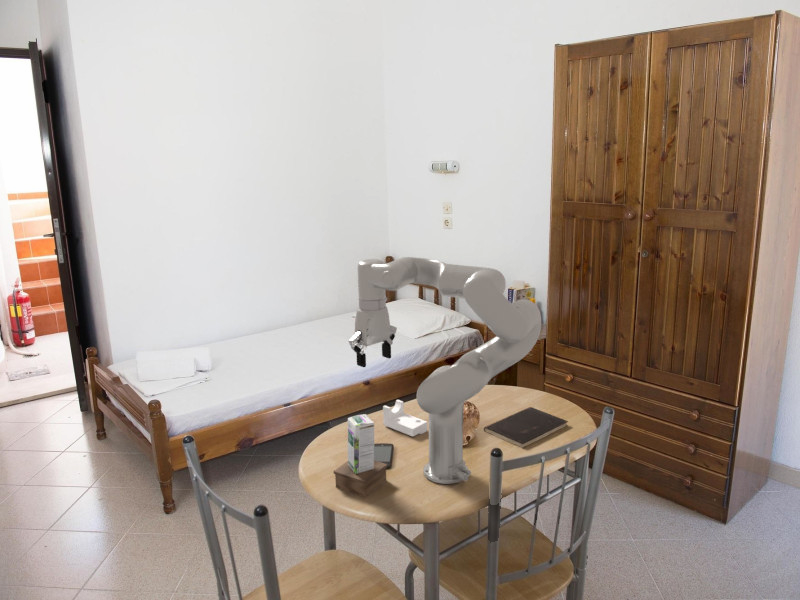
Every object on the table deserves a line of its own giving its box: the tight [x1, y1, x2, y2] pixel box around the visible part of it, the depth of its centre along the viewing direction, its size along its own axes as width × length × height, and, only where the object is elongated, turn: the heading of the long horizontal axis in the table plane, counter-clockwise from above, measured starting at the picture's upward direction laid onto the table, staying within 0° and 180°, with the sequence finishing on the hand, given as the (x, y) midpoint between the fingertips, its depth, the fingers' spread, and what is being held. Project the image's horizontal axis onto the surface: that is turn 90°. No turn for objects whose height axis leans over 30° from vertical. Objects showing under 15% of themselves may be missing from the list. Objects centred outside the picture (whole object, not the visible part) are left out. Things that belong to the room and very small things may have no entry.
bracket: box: [382, 399, 428, 437], centre depth 206 cm, size 13×7×8 cm, turn 47°
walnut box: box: [333, 459, 388, 498], centre depth 174 cm, size 11×11×5 cm
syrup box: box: [347, 413, 375, 474], centre depth 172 cm, size 6×6×14 cm
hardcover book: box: [483, 406, 569, 449], centre depth 205 cm, size 16×23×2 cm
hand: (374, 361), depth 180 cm, fingers open, 9 cm apart
